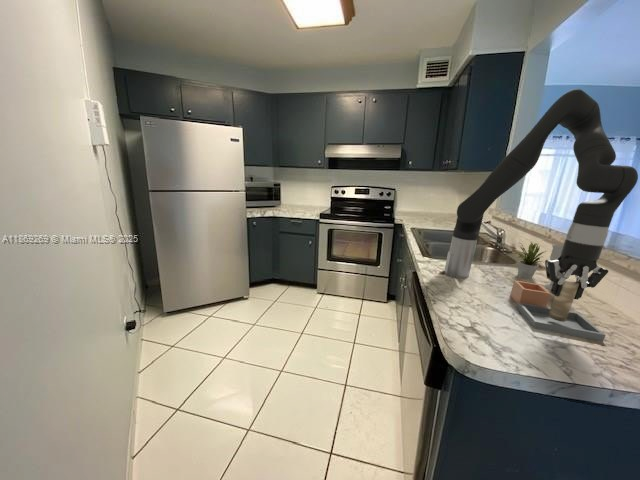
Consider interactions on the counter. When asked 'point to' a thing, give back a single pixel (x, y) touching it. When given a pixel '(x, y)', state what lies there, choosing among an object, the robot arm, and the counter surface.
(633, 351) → the counter surface
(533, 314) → the tray
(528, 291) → the terracotta open box
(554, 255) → the chalice
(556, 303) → the peg
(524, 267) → the house plant
